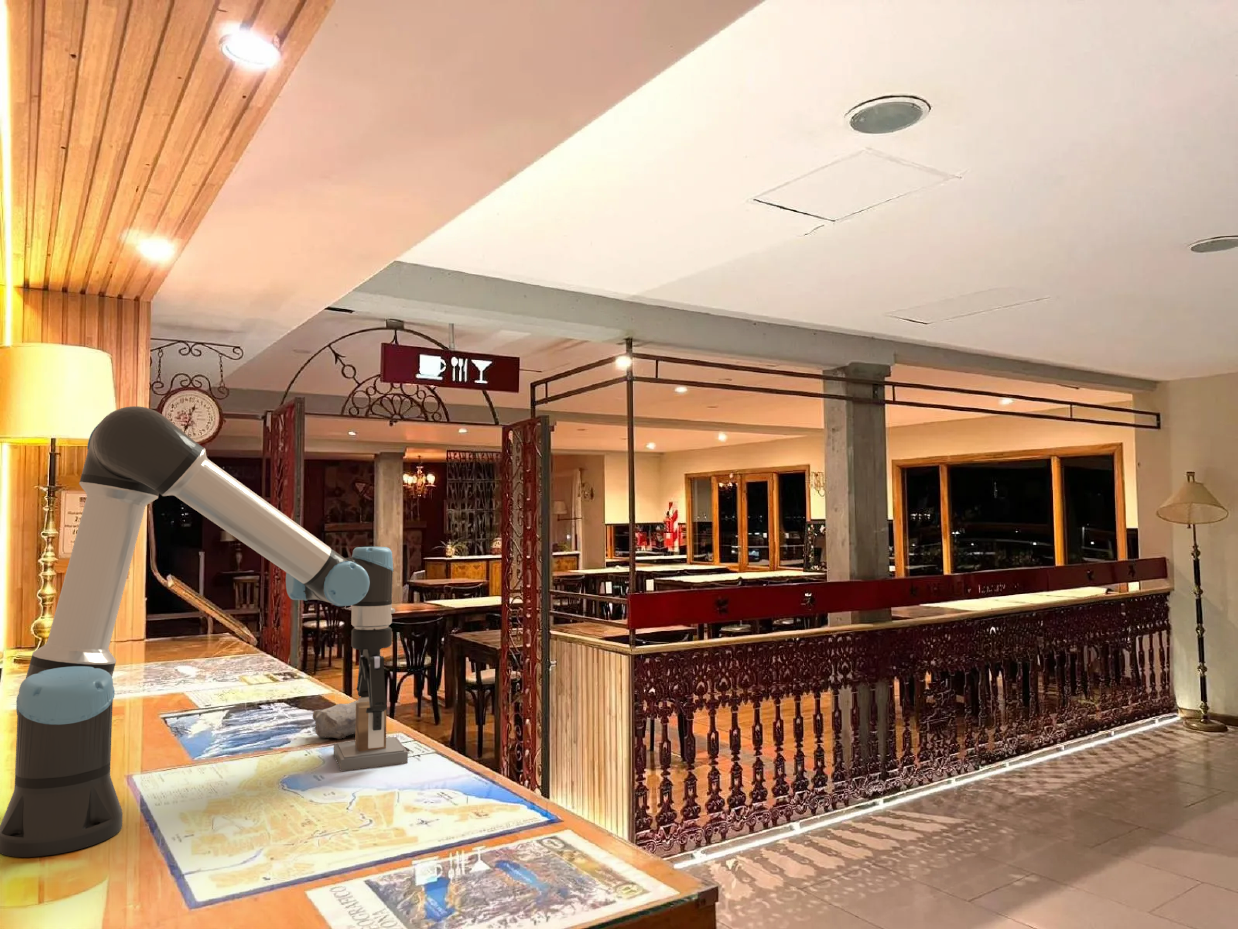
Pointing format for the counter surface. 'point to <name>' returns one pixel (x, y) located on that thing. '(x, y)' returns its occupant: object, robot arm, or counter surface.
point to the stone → (336, 721)
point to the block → (365, 727)
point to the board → (370, 755)
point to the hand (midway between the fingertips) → (370, 738)
